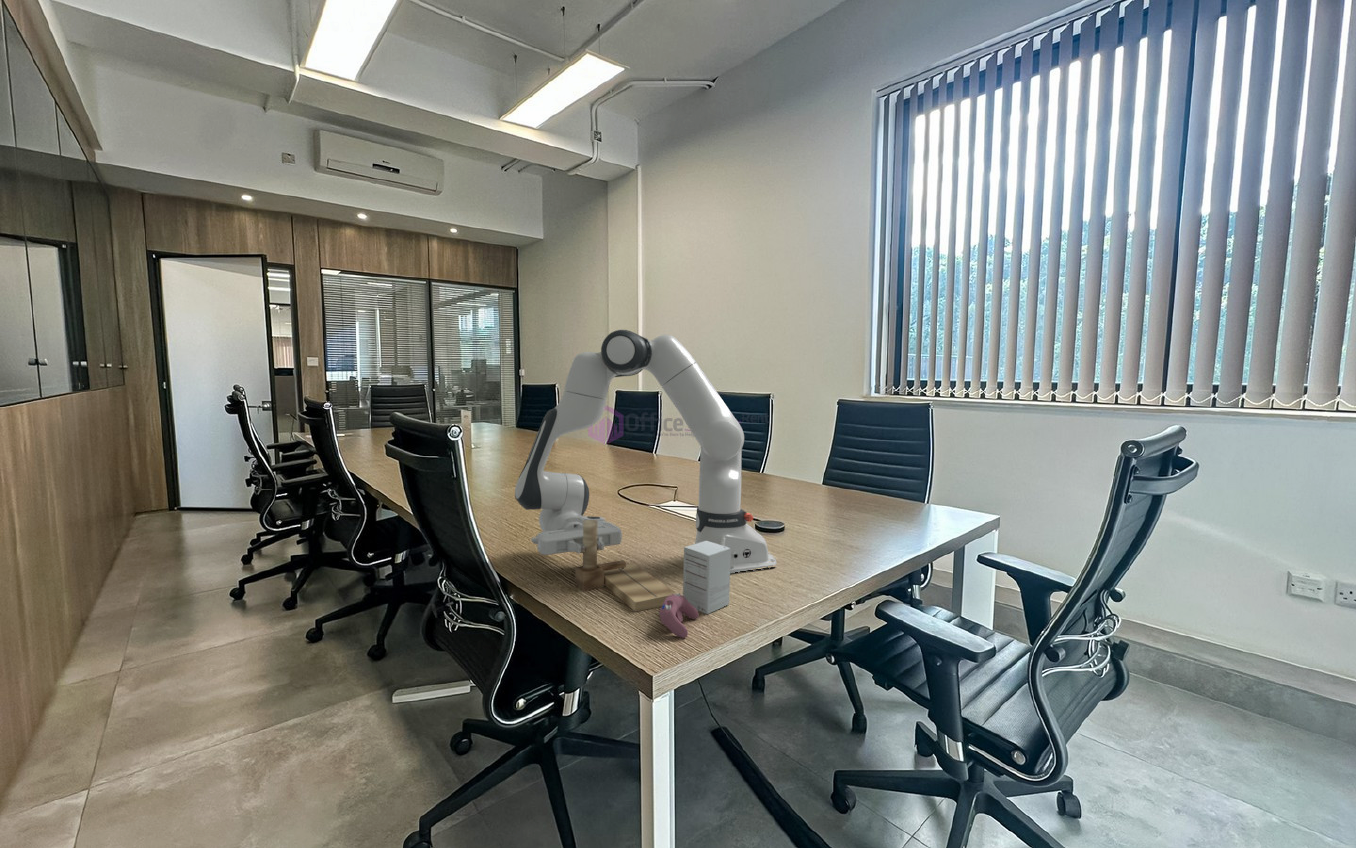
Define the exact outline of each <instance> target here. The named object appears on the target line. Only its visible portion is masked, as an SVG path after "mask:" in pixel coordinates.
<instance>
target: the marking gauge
mask: <svg viewBox="0 0 1356 848" xmlns="http://www.w3.org/2000/svg"><path fill="white" fill-rule="evenodd" d="M597 523H598V522H597V521H596V520H585V521H583V545H585V549H584V550H585V552H584V553H582V565H579V566H575V581H574V582H575V583H574V584H575V585H576V586H577V587H578V588H579V589H581V591H583V592H587V591H590V590H596V589H597V590H598V589H602V588H605V585H604V571H607V570H612V569H618V568H621V569H624V567H626V564H627V561H625V560H623V559H622V560H621V559H620V560H615V561H611V562H603V563H598V551H597Z"/></svg>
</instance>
